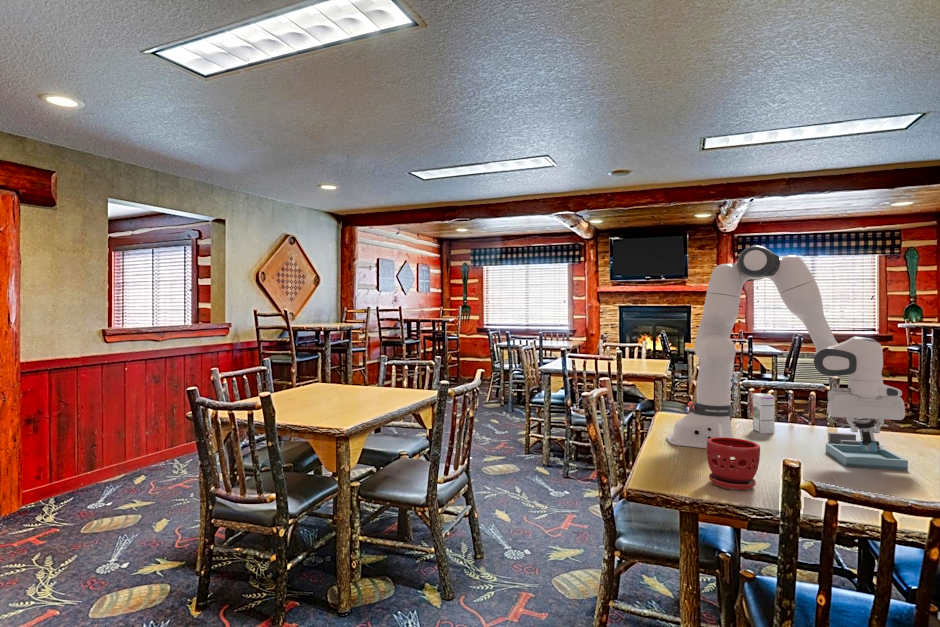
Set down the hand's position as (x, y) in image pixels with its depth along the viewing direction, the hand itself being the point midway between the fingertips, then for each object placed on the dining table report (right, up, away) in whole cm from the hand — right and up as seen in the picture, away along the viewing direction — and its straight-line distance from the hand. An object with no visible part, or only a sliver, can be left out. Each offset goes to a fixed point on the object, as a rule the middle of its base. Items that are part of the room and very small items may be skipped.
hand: (864, 432), depth 169 cm
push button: (+2, -6, 0) cm, 6 cm away
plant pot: (-52, -10, -22) cm, 57 cm away
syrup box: (-11, -9, +39) cm, 41 cm away
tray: (0, -9, 0) cm, 9 cm away
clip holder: (+6, -9, +16) cm, 19 cm away
